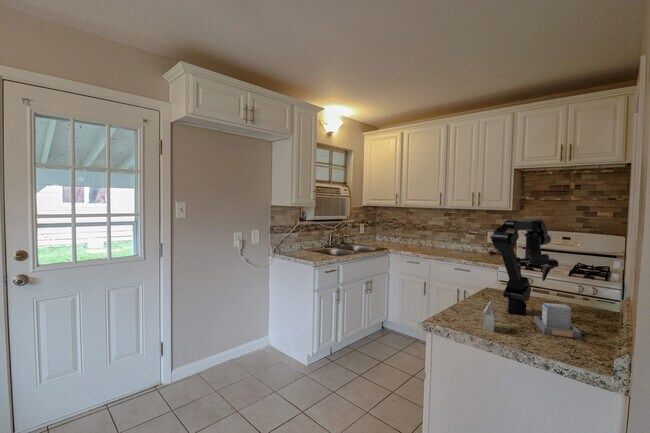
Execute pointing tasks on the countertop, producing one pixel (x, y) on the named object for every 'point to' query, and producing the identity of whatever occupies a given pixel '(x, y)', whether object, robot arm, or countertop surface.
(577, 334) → the tray
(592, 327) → the countertop surface
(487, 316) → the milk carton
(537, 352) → the countertop surface
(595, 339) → the countertop surface
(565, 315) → the medicine box
